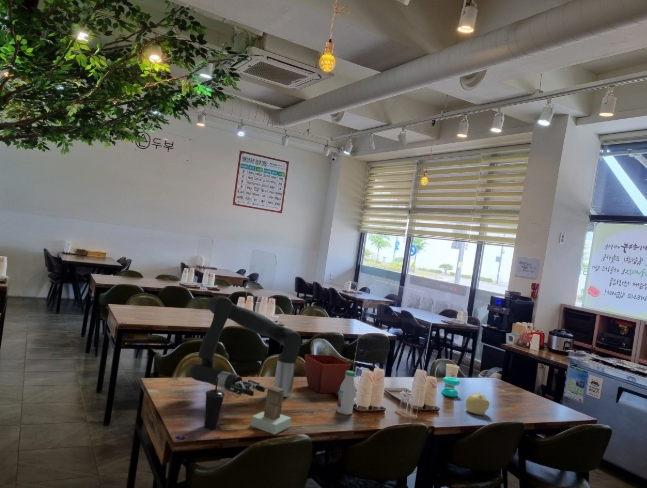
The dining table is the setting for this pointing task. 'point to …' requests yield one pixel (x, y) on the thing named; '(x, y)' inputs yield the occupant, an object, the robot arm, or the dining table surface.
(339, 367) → the plant pot
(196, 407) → the dining table surface
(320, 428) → the dining table surface
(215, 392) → the drinking cup
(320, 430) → the dining table surface
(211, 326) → the robot arm
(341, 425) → the dining table surface
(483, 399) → the pale yellow round lump
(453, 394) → the donuts
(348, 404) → the milk bottle
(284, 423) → the base slab
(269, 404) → the walnut block
